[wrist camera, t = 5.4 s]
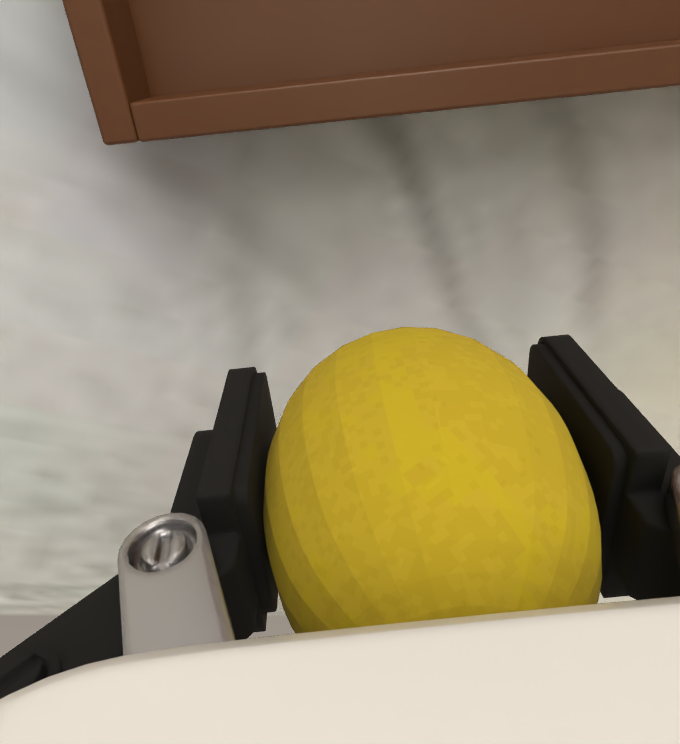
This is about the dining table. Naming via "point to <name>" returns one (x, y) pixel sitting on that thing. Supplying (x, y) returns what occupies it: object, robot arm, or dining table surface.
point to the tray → (354, 58)
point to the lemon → (425, 489)
